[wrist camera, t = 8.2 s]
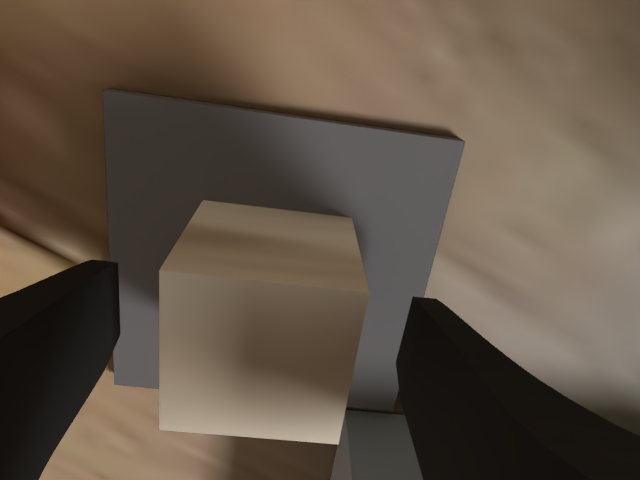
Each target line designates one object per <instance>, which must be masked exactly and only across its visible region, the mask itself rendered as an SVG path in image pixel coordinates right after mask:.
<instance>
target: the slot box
mask: <svg viewBox="0 0 640 480" xmlns="http://www.w3.org/2000/svg"><path fill="white" fill-rule="evenodd" d="M330 480H423V477H422V474H421V470H420V467H419V463H418V459H417V456H416V452H415V449H414V445H413V442H412V438H411V435H410V431H409V428H408V424H407V420H406V417H405V415H398V414H387V413H377V412H366V411H355V410H345V415H344V420H343V425H342V430H341V435H340V440H339V444H338V445H337V450H336V454H335V459H334V464H333V468H332V473H331V478H330Z"/></svg>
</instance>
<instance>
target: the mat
mask: <svg viewBox="0 0 640 480" xmlns="http://www.w3.org/2000/svg"><path fill="white" fill-rule="evenodd" d="M103 113H104V138H105V163H106V188H107V212H108V237H109V262H117V263H118V271H119V302H120V336H119V339H118V341H117V344H116V346H115V348H114V351H113V361H114V385H123V386H134V387H144V388H155V389H159V270H160V268H161V266H162V265H163V263H164V262H165V260H166V258H167V257H168V255H169V254H170V252H171V250H172V249H173V247H174V246H175V244H176V242H177V241H178V239H179V238H180V236H181V234H182V233H183V231H184V230H185V228H186V226H187V225H188V223H189V222H190V220H191V218H192V217H193V215H194V214H195V212H196V210H197V209H198V207H199V206H200V204H201V202H202V201H203V200H207V201H215V202H223V203H232V204H240V205H249V206H257V207H265V208H274V209H282V210H291V211H299V212H307V213H316V214H324V215H333V216H341V217H349V218H352V220H353V224H354V229H355V233H356V237H357V241H358V246H359V250H360V254H361V258H362V263H363V267H364V271H365V276H366V280H367V284H368V288H369V298H368V302H367V307H366V312H365V317H364V322H363V327H362V332H361V337H360V342H359V347H358V351H357V356H356V361H355V366H354V371H353V376H352V381H351V386H350V391H349V395H348V400H347V405H346V407H355V408H366V409H377V410H387V411H393V410H394V406H395V402H396V398H397V395H398V391H399V385H398V377H397V369H396V360H397V356H398V352H399V348H400V344H401V340H402V336H403V332H404V328H405V324H406V321H407V317H408V313H409V309H410V305H411V301H412V297H413V296H414V297H424V294H425V290H426V286H427V283H428V279H429V275H430V271H431V268H432V264H433V260H434V256H435V253H436V249H437V245H438V241H439V238H440V234H441V230H442V226H443V223H444V219H445V215H446V212H447V208H448V204H449V200H450V197H451V193H452V189H453V185H454V182H455V178H456V174H457V170H458V167H459V163H460V159H461V156H462V152H463V148H464V144H465V141H463V140H462V139H460V138H453V137H446V136H439V135H432V134H425V133H418V132H411V131H404V130H397V129H390V128H383V127H376V126H369V125H362V124H355V123H348V122H341V121H334V120H327V119H320V118H313V117H306V116H299V115H292V114H285V113H278V112H271V111H264V110H257V109H250V108H243V107H236V106H229V105H222V104H215V103H208V102H201V101H194V100H187V99H180V98H173V97H166V96H159V95H152V94H145V93H138V92H131V91H124V90H117V89H110V88H109V89H105V90H103Z"/></svg>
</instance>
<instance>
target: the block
mask: <svg viewBox="0 0 640 480" xmlns="http://www.w3.org/2000/svg"><path fill="white" fill-rule="evenodd" d="M368 298H369V288H368V284H367V280H366V276H365V271H364V267H363V263H362V258H361V254H360V250H359V246H358V241H357V237H356V233H355V229H354V224H353V220H352V218H349V217H341V216H333V215H324V214H316V213H307V212H299V211H291V210H282V209H274V208H265V207H257V206H249V205H240V204H232V203H223V202H215V201H207V200H203V201H202V202H201V204H200V206H199V207H198V209H197V210H196V212H195V214H194V215H193V217H192V218H191V220H190V222H189V223H188V225H187V226H186V228H185V230H184V231H183V233H182V234H181V236H180V238H179V239H178V241H177V242H176V244H175V246H174V247H173V249H172V250H171V252H170V254H169V255H168V257H167V258H166V260H165V262H164V263H163V265H162V266H161V268H160V270H159V414H160V430H167V431H180V432H192V433H204V434H216V435H228V436H240V437H252V438H265V439H277V440H289V441H301V442H313V443H325V444H339V440H340V435H341V430H342V425H343V420H344V415H345V410H346V405H347V400H348V395H349V391H350V386H351V381H352V376H353V371H354V366H355V361H356V356H357V351H358V347H359V342H360V337H361V332H362V327H363V322H364V317H365V312H366V307H367V302H368Z"/></svg>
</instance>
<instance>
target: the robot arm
mask: <svg viewBox="0 0 640 480" xmlns="http://www.w3.org/2000/svg"><path fill="white" fill-rule="evenodd" d="M119 336H120V302H119V271H118V263H117V262H108V261H99V260H90V261H86V262H83V263H81V264H78V265H76V266H73V267H71V268H69V269H66V270H64V271H62V272H59V273H57V274H55V275H53V276H50V277H48V278H46V279H44V280H41V281H39V282H37V283H35V284H32V285H30V286H28V287H25V288H23V289H21V290H19V291H16V292H14V293H11V294H9V295H6V296H4V297H1V298H0V480H39V478H40V476H41V474H42V472H43V470H44V468H45V466H46V464H47V463H48V461H49V459H50V457H51V456H52V454H53V452H54V450H55V449H56V447H57V445H58V444H59V442H60V441H61V439H62V438H63V436H64V434H65V433H66V431H67V430H68V428H69V426H70V425H71V423H72V422H73V420H74V418H75V417H76V415H77V414H78V412H79V411H80V409H81V407H82V406H83V404H84V403H85V401H86V399H87V398H88V396H89V395H90V393H91V391H92V390H93V388H94V387H95V385H96V383H97V382H98V380H99V378H100V377H101V375H102V373H103V372H104V370H105V368H106V366H107V364H108V362H109V360H110V357H111V355H112V353H113V351H114V348H115V346H116V344H117V341H118V339H119ZM396 369H397V377H398V385H399V391H400V398H401V402H402V406H403V409H404V413H405V417H406V420H407V424H408V428H409V431H410V435H411V438H412V442H413V445H414V449H415V452H416V456H417V459H418V463H419V467H420V470H421V474H422V477H423V480H640V437H639V436H637V435H635V434H633V433H631V432H629V431H627V430H625V429H623V428H621V427H619V426H617V425H615V424H613V423H611V422H609V421H608V420H606V419H604V418H602V417H600V416H598V415H597V414H595V413H593V412H591V411H589V410H587V409H586V408H584V407H582V406H580V405H579V404H577V403H575V402H573V401H572V400H570V399H568V398H567V397H565V396H564V395H562V394H560V393H559V392H557V391H556V390H554V389H553V388H551V387H550V386H548V385H546V384H545V383H543V382H542V381H540V380H539V379H537V378H536V377H534V376H533V375H531V374H530V373H529V372H527V371H526V370H524V369H523V368H522V367H520V366H519V365H518V364H516V363H515V362H514V361H512V360H511V359H510V358H508V357H507V356H506V355H504V354H503V353H502V352H501V351H499V350H498V349H497V348H496V347H494V346H493V345H492V344H491V343H489V342H488V341H487V340H486V339H485V338H483V337H482V336H481V335H480V334H479V333H477V332H476V331H475V330H474V329H473V328H472V327H470V326H469V325H468V324H467V323H466V322H464V321H463V320H462V319H461V318H460V317H459V316H457V315H456V314H455V313H454V312H453V311H452V310H450V309H449V308H448V307H447V306H445V305H444V304H443V303H441V302H440V301H439V300H437V299H431V298H423V297H414V296H413V297H412V301H411V305H410V309H409V313H408V317H407V321H406V324H405V328H404V332H403V336H402V340H401V344H400V348H399V352H398V356H397V360H396Z"/></svg>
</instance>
